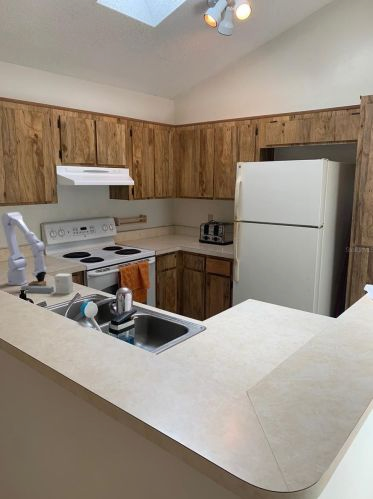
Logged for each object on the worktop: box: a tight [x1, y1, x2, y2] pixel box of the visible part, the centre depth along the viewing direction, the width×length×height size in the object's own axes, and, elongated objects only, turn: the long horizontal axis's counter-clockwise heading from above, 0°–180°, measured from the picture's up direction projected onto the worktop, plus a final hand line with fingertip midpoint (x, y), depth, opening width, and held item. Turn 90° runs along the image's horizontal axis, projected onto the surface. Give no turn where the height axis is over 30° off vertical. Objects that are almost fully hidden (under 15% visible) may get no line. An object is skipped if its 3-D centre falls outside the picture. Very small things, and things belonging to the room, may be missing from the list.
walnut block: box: [27, 280, 47, 286], centre depth 223 cm, size 8×6×4 cm
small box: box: [54, 273, 74, 295], centre depth 215 cm, size 8×6×10 cm
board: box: [20, 285, 55, 294], centre depth 217 cm, size 18×3×3 cm, turn 83°
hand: (41, 284), depth 227 cm, fingers closed
